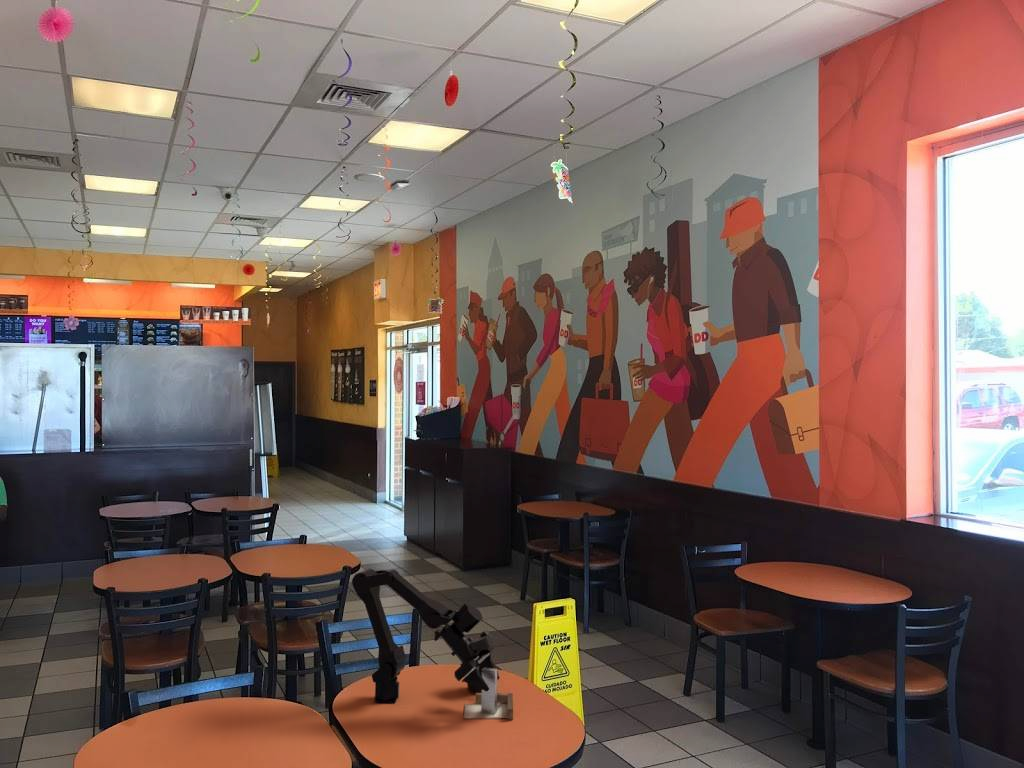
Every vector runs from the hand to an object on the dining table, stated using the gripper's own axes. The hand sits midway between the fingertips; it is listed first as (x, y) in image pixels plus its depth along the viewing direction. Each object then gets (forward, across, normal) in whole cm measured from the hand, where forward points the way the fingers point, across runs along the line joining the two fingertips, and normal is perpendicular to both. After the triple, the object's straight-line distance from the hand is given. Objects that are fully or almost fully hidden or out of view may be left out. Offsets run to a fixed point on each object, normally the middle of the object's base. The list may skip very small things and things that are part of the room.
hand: (493, 684), depth 231 cm
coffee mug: (0, +15, +13) cm, 20 cm away
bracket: (+5, +2, +7) cm, 8 cm away
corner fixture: (+5, +2, +7) cm, 9 cm away
